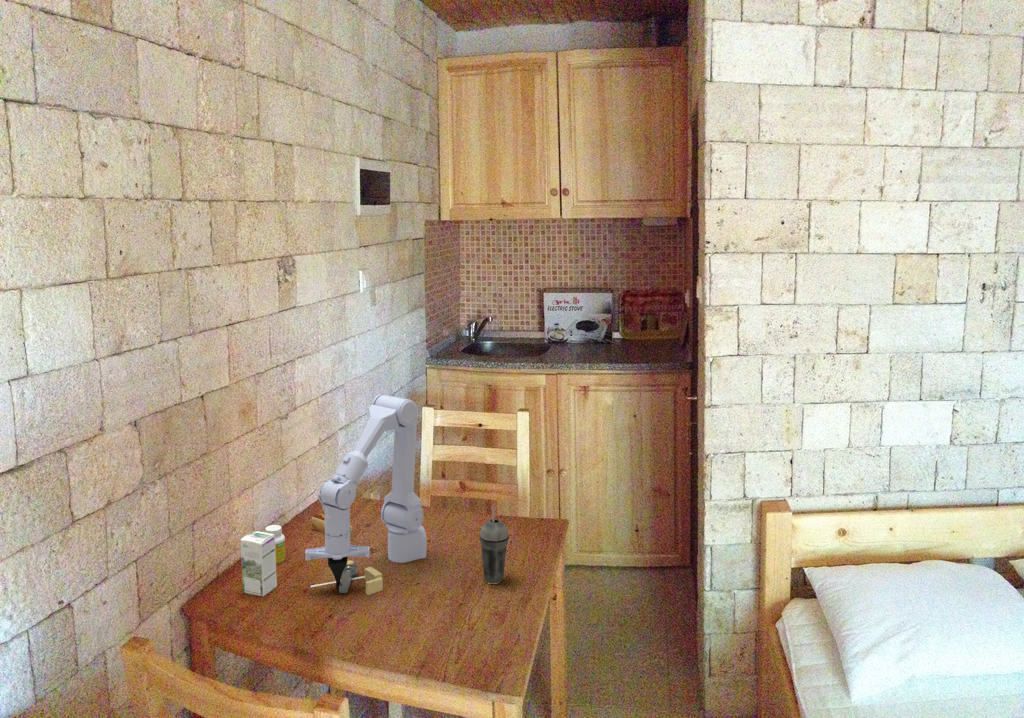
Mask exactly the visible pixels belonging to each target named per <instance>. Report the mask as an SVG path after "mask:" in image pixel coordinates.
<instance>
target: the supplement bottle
mask: <svg viewBox="0 0 1024 718" xmlns="http://www.w3.org/2000/svg"><path fill="white" fill-rule="evenodd" d="M264 533H270V534H274V535H275V554H276V565H277V564H279V563H280V564H281V563H282V562H284V561H286V560H287V559H286V558H287V556H286V537H285V535H284V534H283V530H282V526H281V525H280V524H271V525H267V526H266V527H265V528H264Z"/></svg>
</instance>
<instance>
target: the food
mask: <svg viewBox="0 0 1024 718" xmlns="http://www.w3.org/2000/svg"><path fill="white" fill-rule="evenodd" d="M310 520H311V526H312V528H313V530H314V531H316V532H317V533H318V532H319V533H323V534H324V535H325V517H324V514H323V513H315V514H314V515H313V516H312V517H311V519H310ZM353 530H354V528H353V526H352V525H351V524H350V538H351V537H352V535H353Z"/></svg>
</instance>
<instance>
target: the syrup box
mask: <svg viewBox="0 0 1024 718" xmlns="http://www.w3.org/2000/svg"><path fill="white" fill-rule="evenodd" d="M240 557H241V559H240V560H241V574H242V575H241V577H242V592H243V593H245V594H249V595H255V596H258V597H265V596H266V595H267V594H268V593H270V592H271V591H273V590H274V589H276V588H277V586H278V583H277V581H278V580H277V564H276V554H275V535H274V534H270V533H265V531H257V530H253V531H252V532H249V533H248V534H246V535H245V536H243V537H241V538H240Z"/></svg>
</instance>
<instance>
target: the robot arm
mask: <svg viewBox="0 0 1024 718" xmlns="http://www.w3.org/2000/svg"><path fill="white" fill-rule="evenodd" d="M418 409H419V408H418V405H417V404H416V403H415V402H414V400H411V399H409V398H402V397H396V396H391V395H387V394H384V393H379V394H377V395H376V396H375V397H374V399H373V400H372V403H371V405H370V406H369V408H368V415H369V418H368V420H367V423H366V425H365V427H364V429H363V431H362V433H361V435H360V436H359V439H358V441H357V443H356V445H355V447H354V449H353V450H352V451H349V452H347V453H345V455H344V457H343V458H342V460H341V462H340V464H339V465H338V467H337V468H336V470H335V472H334V474H333V475H332V477H331V479H329V480H327V481H326V482H324V483H322V485H321V487H320V489H319V493H318V494H317V496H318V497H317V498H318V501H319V502H320V504H321V506H322V507H321V508H322V510H323V512H324V514H323V515H324V517H325V534H324V546H320V547H315V548H308V549H305V556H304V557H305V561H306V562H307V561H311V560H316V559H317V560H318V559H319V560H320V559H327V565H328V567H329V569H330V570H331V572H332V574H333V576H334V579H335V581H336V583H335V589H339V585H340V580H341V579H342V573H343V571H344V569H345V567H346V565H347V561H348V558H355V557H356V558H357V557H358V558H359V557H365V558H370V555H371V554H370V553H371V552H370V551H371V550H370V549H371V548H370V546H369V545H364V546H363V545H354V544H353V545H352V544H351V537H350V525H351V511H350V510H351V509H350V508H351V506H352V505H353V503H354V502H355V500H356V495H357V493H356V492H357V490H358V483H359V481H360V480H361V478H362V477H363V475H364V473H365V471H366V469H367V468H368V466H369V465H368V464H369V463H368V456H369V455H370V453H371V452H372V450H373V449H374V447H375V446H376V445H377V443H378V441H379V440H380V438H381V437H382V435H383V434H384V433H385V432H387V431H388V432H389V431H394V442H393V460H392V480H391V491H390V492H389V493H387V494H386V495H385V496H384V498H383V505H382V507H381V510H380V519H381V521H382V522H383V523H384V524H385V528H386V529H387V554H388V555H387V558H388V560H389V561H390V562H394V563H398V564H399V563H401V564H405V563H409V562H412V561H416V560H417V561H418V560H420V559H421V560H422V559H426V558H427V534H426V530H425V526H423V525H422V524H423V521H424V511H423V506H422V505H423V504H422V503H423V502H422V500H421V499H420V497H419V496H418V495H417V494H416V493H415V492H414V485H415V469H416V468H415V465H416V449H417V448H416V447H417V446H416V444H417V429H418Z"/></svg>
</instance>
